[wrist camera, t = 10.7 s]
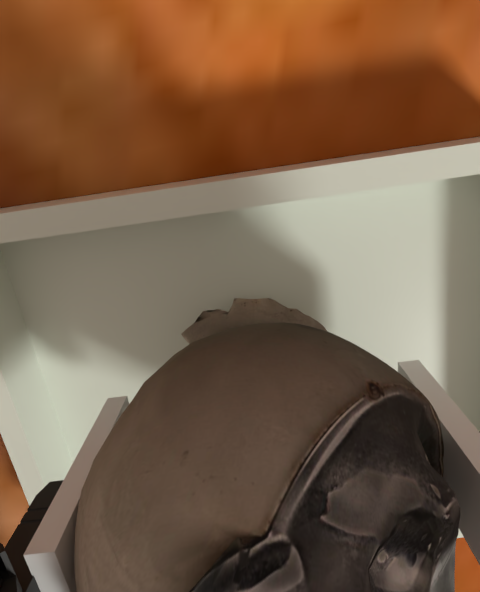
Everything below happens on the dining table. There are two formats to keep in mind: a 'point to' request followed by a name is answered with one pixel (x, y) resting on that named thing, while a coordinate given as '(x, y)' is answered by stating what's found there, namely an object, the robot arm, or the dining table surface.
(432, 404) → the robot arm
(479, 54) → the dining table surface
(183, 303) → the serving tray
